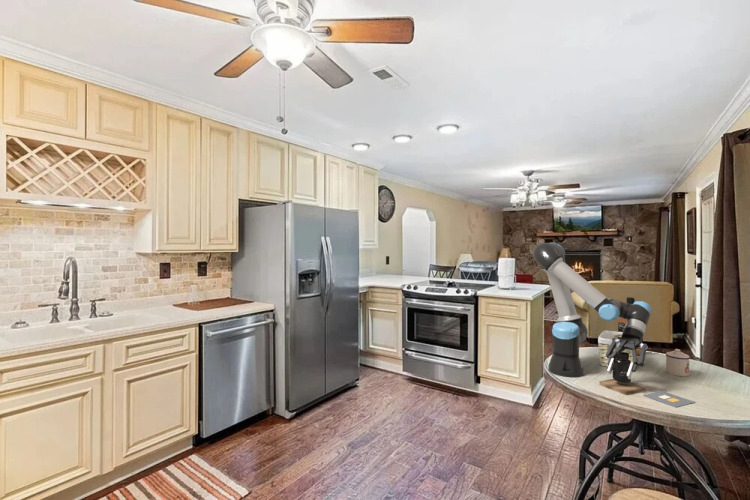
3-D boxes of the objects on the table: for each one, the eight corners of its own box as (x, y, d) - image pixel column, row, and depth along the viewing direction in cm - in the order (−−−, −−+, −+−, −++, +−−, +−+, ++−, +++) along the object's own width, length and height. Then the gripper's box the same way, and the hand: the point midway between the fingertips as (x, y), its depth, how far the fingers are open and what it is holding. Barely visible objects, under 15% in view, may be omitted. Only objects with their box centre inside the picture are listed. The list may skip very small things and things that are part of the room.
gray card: (643, 395, 153) (643, 395, 153) (662, 391, 157) (662, 390, 157) (675, 407, 142) (675, 407, 142) (695, 402, 146) (695, 402, 146)
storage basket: (602, 355, 208) (603, 329, 208) (638, 360, 198) (638, 333, 198) (596, 366, 189) (597, 337, 189) (635, 373, 180) (635, 342, 179)
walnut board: (599, 384, 165) (599, 381, 165) (618, 381, 169) (618, 377, 169) (626, 395, 154) (626, 391, 154) (645, 390, 158) (645, 387, 158)
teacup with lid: (690, 378, 172) (690, 353, 172) (665, 374, 178) (666, 350, 177) (688, 370, 182) (688, 347, 182) (664, 367, 187) (665, 344, 187)
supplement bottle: (624, 384, 157) (624, 356, 157) (609, 378, 163) (609, 351, 163) (635, 381, 160) (635, 354, 159) (619, 376, 166) (619, 349, 166)
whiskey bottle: (630, 350, 216) (630, 296, 215) (645, 355, 206) (646, 298, 205) (615, 351, 214) (615, 296, 213) (629, 357, 204) (629, 299, 204)
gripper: (662, 341, 162) (648, 386, 153) (612, 332, 178) (596, 373, 169) (657, 330, 159) (643, 376, 150) (607, 322, 175) (591, 363, 166)
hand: (618, 374), depth 159 cm, fingers closed on supplement bottle, 7 cm apart
